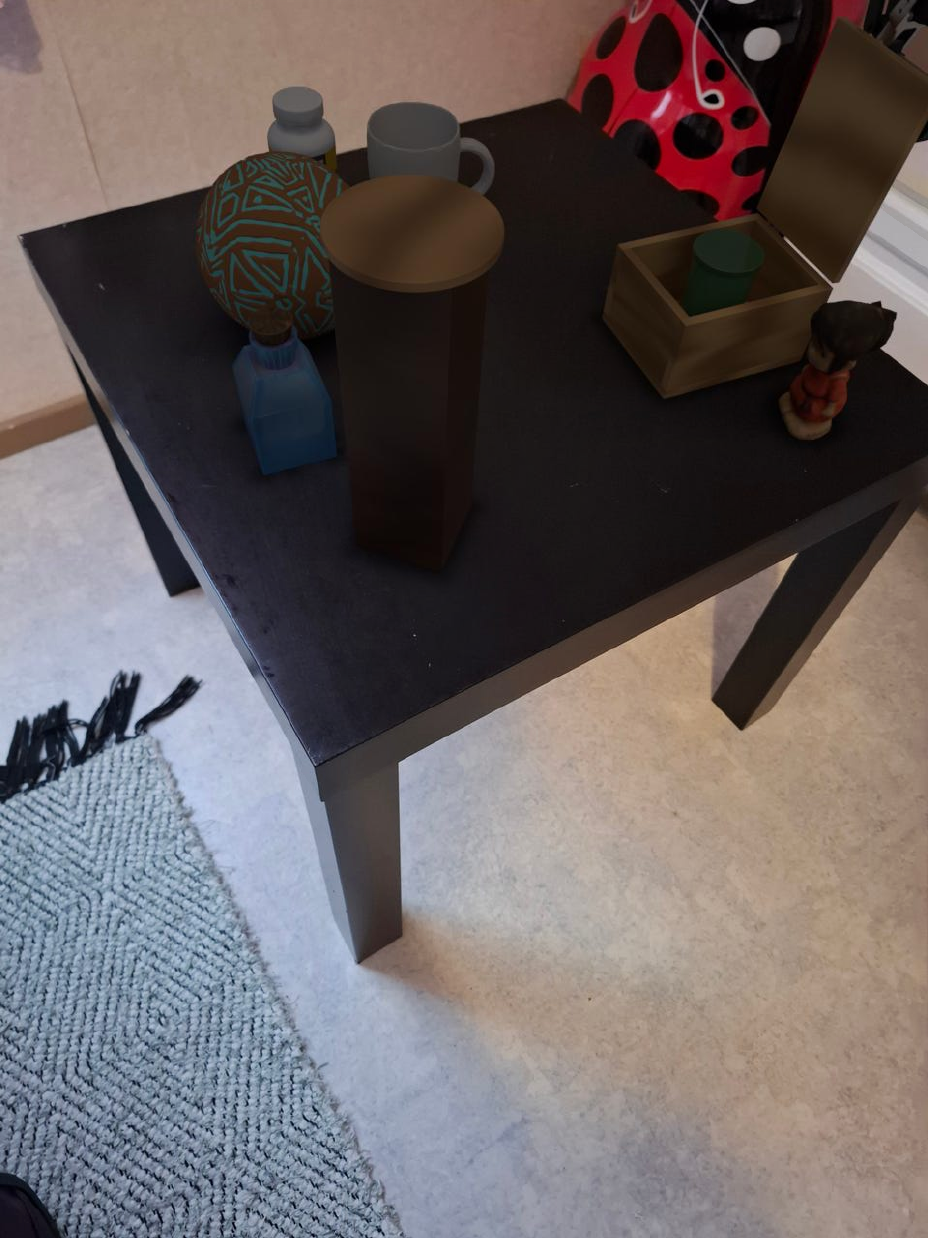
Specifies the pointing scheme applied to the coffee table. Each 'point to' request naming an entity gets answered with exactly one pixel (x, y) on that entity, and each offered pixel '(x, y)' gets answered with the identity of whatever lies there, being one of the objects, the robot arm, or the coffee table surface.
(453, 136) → the mug
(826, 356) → the figurine
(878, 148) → the lid
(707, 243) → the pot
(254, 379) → the perfume bottle
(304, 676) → the coffee table surface
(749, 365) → the chest
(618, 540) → the coffee table surface
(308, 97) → the pill bottle
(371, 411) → the tall pedestal column
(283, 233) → the decorative sphere
